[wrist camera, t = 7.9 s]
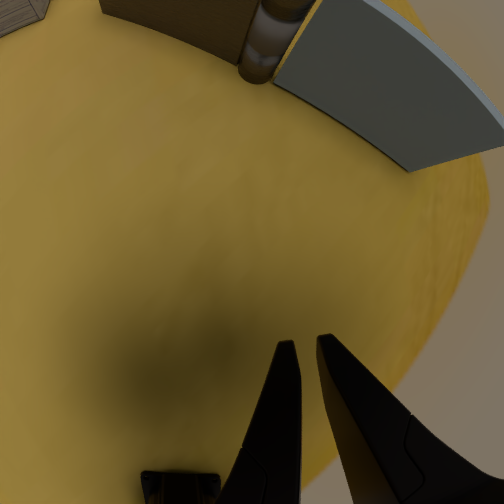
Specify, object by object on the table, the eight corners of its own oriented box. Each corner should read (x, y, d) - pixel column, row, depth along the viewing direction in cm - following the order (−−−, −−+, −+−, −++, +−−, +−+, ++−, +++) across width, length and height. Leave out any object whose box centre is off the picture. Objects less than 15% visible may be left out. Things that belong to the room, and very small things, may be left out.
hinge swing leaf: (414, 155, 22) (513, 121, 12) (407, 180, 22) (513, 153, 11) (248, 49, 19) (291, -54, 9) (232, 72, 19) (269, -38, 8)
